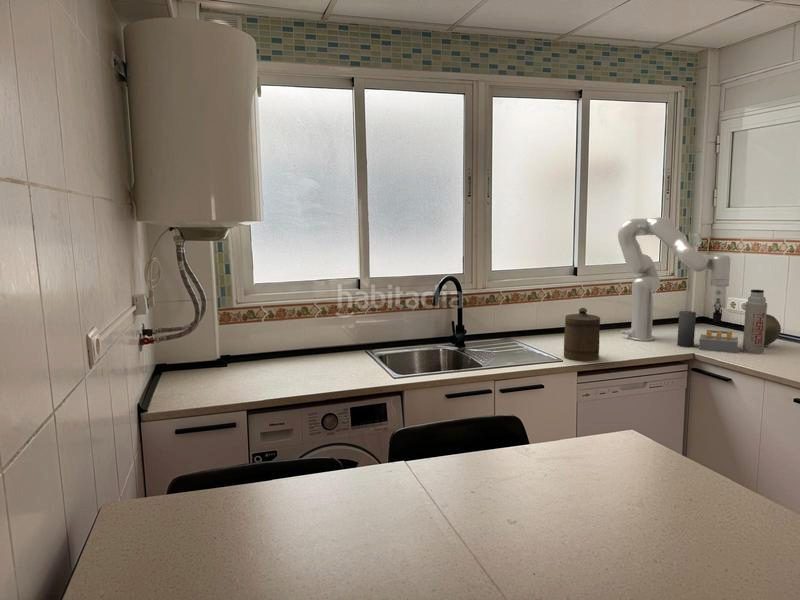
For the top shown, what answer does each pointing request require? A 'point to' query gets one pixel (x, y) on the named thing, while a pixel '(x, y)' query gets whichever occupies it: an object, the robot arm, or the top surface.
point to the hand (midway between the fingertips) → (717, 319)
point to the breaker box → (718, 343)
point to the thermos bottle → (755, 323)
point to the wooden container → (581, 336)
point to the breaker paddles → (719, 333)
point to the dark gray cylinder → (686, 329)
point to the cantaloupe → (771, 329)
